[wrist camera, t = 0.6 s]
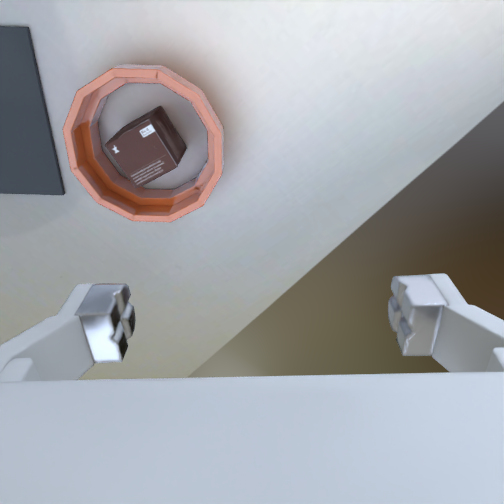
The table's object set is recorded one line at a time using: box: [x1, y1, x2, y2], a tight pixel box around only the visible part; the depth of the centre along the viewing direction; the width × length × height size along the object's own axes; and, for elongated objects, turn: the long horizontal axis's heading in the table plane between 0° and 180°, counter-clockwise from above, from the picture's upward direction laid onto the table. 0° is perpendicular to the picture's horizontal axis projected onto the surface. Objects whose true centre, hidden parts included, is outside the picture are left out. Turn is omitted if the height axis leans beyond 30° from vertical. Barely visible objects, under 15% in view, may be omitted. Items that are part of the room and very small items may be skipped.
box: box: [105, 106, 187, 188], centre depth 50 cm, size 6×6×7 cm
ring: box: [63, 64, 224, 222], centre depth 51 cm, size 18×18×6 cm
